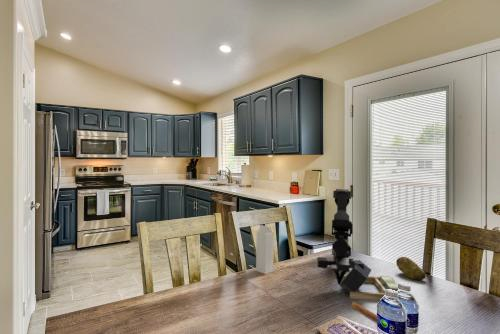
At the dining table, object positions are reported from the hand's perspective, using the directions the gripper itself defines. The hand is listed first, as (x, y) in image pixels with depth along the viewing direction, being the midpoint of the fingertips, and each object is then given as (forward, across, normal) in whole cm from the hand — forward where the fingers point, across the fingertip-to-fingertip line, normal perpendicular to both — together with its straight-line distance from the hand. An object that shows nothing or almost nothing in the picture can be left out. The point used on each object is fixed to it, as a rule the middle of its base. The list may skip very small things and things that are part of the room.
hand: (338, 284), depth 123 cm
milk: (+3, -32, +15) cm, 36 cm away
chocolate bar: (+3, +6, -18) cm, 19 cm away
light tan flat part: (+2, +14, +1) cm, 14 cm away
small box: (+1, +4, 0) cm, 4 cm away
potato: (+1, +36, +18) cm, 40 cm away
